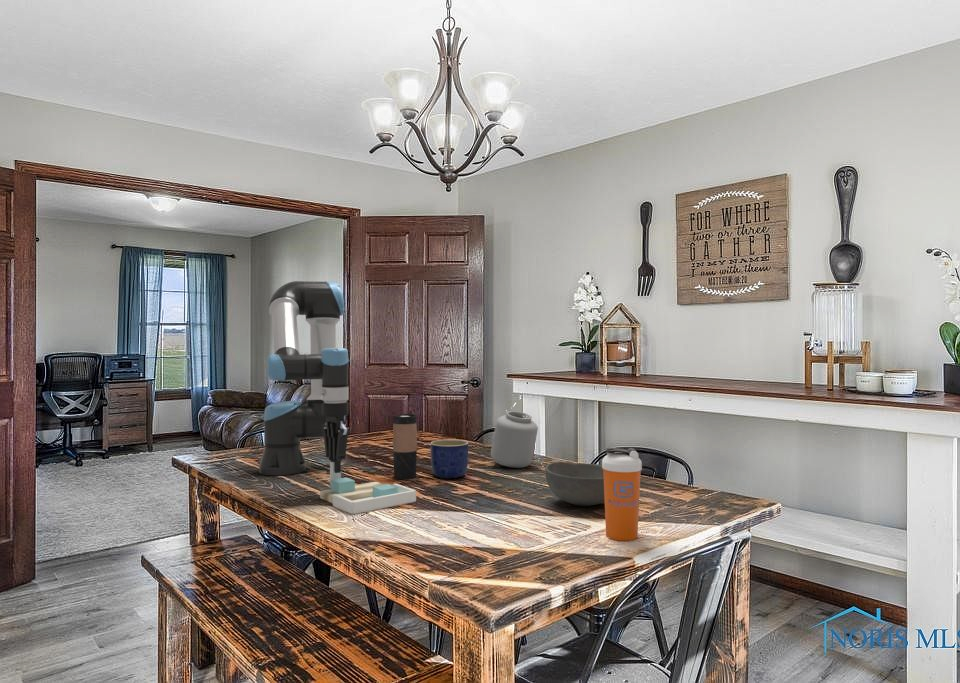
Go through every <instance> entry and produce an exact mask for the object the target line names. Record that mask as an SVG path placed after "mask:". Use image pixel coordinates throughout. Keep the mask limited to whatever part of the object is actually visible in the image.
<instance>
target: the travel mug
mask: <svg viewBox="0 0 960 683" xmlns="http://www.w3.org/2000/svg"><path fill="white" fill-rule="evenodd" d="M392 419H393V422H392V423H393V425H392V428H393V430H392V434H393V436H392V439H393V440H392V455H393V456H392V458H393V459H392V460H393V478H395V479H397V480H410V479H411V480H412V479H414V478H416V477H417V463H418V462H417V460H418V456H417V455H418V447H417V446H418V443H417V442H418V439H417V438H418V436H417V433H418V432H417V430H418V428H417V427H418V426H417V424H418V423H417V415H416V414H413V413H404V414H402V415H397V414H394V415H393V418H392Z"/></svg>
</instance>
